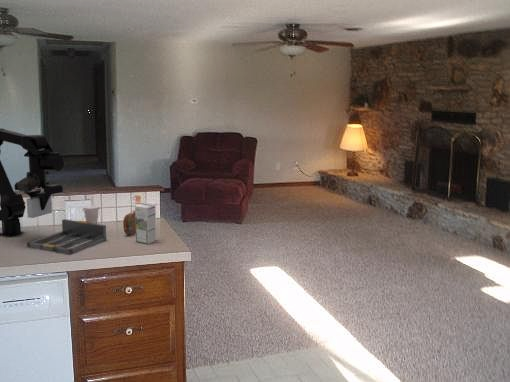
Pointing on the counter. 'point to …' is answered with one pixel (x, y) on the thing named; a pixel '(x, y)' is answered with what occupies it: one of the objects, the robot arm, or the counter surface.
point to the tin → (130, 223)
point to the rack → (72, 237)
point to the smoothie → (91, 213)
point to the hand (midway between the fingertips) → (39, 209)
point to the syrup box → (145, 223)
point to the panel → (37, 207)
